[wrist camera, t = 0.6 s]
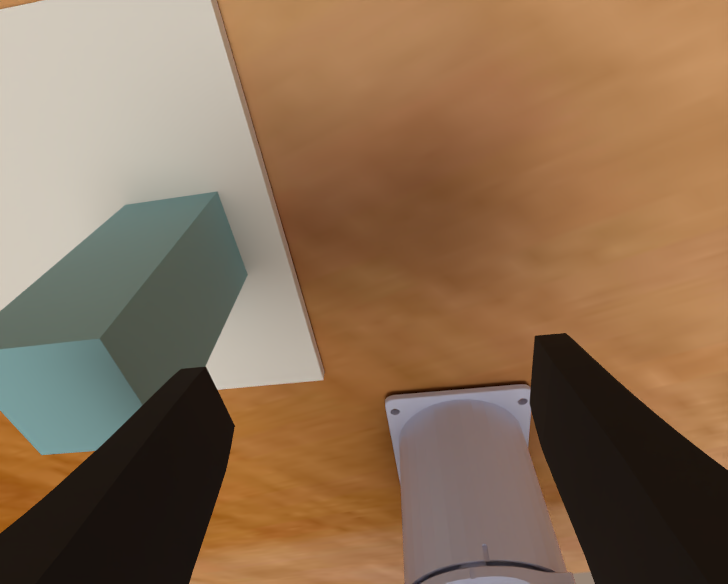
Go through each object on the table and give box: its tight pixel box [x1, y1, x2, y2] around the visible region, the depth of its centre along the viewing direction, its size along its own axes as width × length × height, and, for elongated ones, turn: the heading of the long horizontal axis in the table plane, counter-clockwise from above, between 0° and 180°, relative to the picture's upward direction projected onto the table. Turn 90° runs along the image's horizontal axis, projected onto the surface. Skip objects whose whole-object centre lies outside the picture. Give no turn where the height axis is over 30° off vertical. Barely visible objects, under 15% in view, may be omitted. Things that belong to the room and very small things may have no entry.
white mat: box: [0, 0, 324, 390], centre depth 20 cm, size 18×16×1 cm
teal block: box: [0, 192, 248, 455], centre depth 15 cm, size 4×4×9 cm
